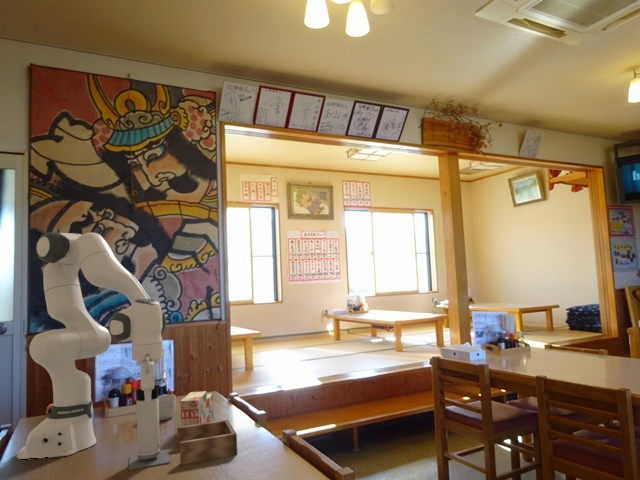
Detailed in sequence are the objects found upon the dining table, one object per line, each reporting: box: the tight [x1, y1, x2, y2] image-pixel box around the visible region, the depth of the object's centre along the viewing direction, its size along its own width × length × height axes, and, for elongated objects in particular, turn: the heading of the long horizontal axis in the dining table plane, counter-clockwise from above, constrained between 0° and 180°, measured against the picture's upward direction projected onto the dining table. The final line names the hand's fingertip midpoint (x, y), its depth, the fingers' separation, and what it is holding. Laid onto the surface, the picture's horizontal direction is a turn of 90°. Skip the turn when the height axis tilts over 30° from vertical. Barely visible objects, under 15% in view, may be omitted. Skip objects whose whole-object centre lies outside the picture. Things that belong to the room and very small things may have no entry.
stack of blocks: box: [180, 390, 214, 427], centre depth 167 cm, size 21×6×12 cm, turn 0°
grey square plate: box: [128, 449, 170, 471], centre depth 136 cm, size 11×11×1 cm
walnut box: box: [176, 419, 238, 466], centre depth 142 cm, size 16×16×6 cm
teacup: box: [158, 394, 177, 421], centre depth 182 cm, size 14×11×8 cm
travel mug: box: [135, 384, 161, 459], centre depth 137 cm, size 6×7×20 cm
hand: (148, 399), depth 138 cm, fingers closed on travel mug, 6 cm apart
